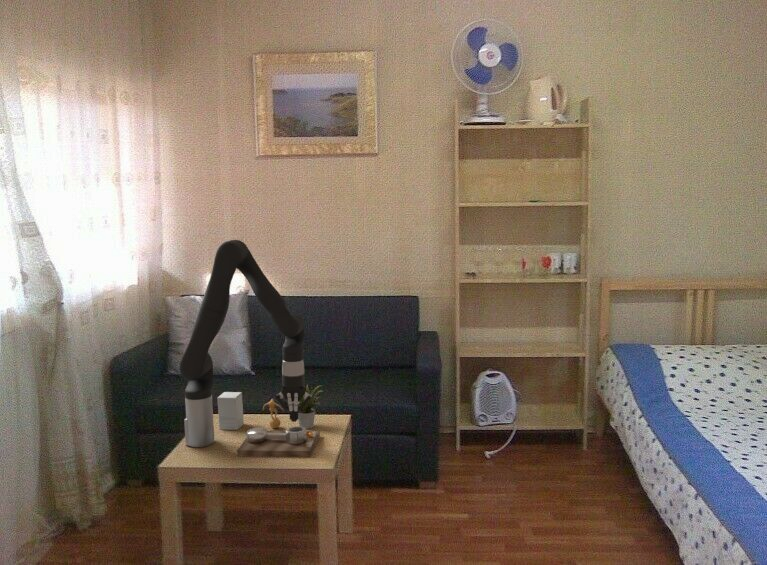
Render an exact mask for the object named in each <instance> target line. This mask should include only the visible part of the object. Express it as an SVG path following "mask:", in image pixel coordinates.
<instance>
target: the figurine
mask: <svg viewBox="0 0 767 565" xmlns="http://www.w3.org/2000/svg"><path fill="white" fill-rule="evenodd" d="M274 400H275V399H274V398H271V400H270V401H268V402H267V403H264V404H263V407H262V411H264V410H265V406H269V409H268V410H269V411H270V417H271V419H270V421H269V426H270V427H271V429H277V428H279V427H280V426H281V420H280V419H279V418H278V417H277V416H278V415H277V414H278V410H277V408H275V407H276V406H277V407H279V408H280V409H281V410H282V411H283V412H285V409H284V408H283V407H282V405H281V404H278V403H277V402H275V401H274ZM273 412H274V414H273ZM273 415H274V416H273Z"/></svg>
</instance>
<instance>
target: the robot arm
mask: <svg viewBox="0 0 767 565" xmlns="http://www.w3.org/2000/svg"><path fill="white" fill-rule="evenodd" d="M213 259H214V260H213V265H212V270H211V273H210V278H209V280H208V283H207V285H206V289H205V292H204V295H203V298H202V300H201V303H200V305H199V309H198V311H197V315H196V319H195V322H194V324H193V329H192V331H191V332H192V333H191V334H190V335H191V336H190V339H189V341H188V344H187V346H186V349H185V351H184V353H183V355H182V357H181V360H180V363H179V373H180V375H181V377H183V378H184V380H186V381H187V384H186V387H185V389H184V400H185V418H184V436H185V439H184V440H185V446H189V447H192V448H205V447H207V446H210V445H213V444H214V443H215V425H214V411H213V408H214V406H213V393H212V392H213V388H214V362H213V358H212V356H211V355H210V354H209V350H210V347H211V345H212V343H213V341H214V340H215V338H216V337H217V335H218V334H219V332H220V330H221V328H222V327H223V325H224V323H225V320H226V318H227V314H228V310H229V307H230V299H231V298H230V296H231V295H230V290H231V284H232V280H233V278H234V275H235V273H236V270H238V271H239V272H240V273H241V274H242V275H243V276H244V277H245V279H246V281H247V282H248V283H249V286H250V288H251V289H252V292H253V294H254V295H255V298H256V299H257V301H258V302H259V303H260V305H261V306H262V307H263V308H264V309H265V311H266V312H267V313H268V314H269V316H270V318H271V320H272V321H273V323H274V326H275V327H276V328H277V330H278V331H279V333H280V334H282V335H283V336H284V337H285V338H284V339H285V340H284V343H283V345H282V348H281V349H282V353H281V354H282V364H281V373H282V374H281V376H282V377H281V378H282V379H281V383H282V386H281V387H282V388H281V390H280V392H279V393H276V395H275V396H274V397H275V399H276V400H277V402H278V403H279V405H280V406H281V407H282V408H283V410H284V411H285V410H287V411H289V420H290V421H291V423H292V422H293V423H294V422H295V423H296V422H297V421H298V418H299V410H302V409H303V408H304V406H305V405H306V404H307V403H308V401H309V400H310V399H312V398H313V396H312V395H311V394H308V393H307V392H306V385H305V363H304V348H303V346H304V340H305V332H306V331H305V330H306V326H305V325H306V324H305V320H304V318H303V316H302V315H301V314H299V313H291V312H290V310H289V309H288V307H287V306H288V304H287V301H286V300H285V299H284V297H283V296H282V295H281V294H280V293H279V291H278V290H277V289H276V287H275V286H273V284H272V283H271V281H270V280H269V279H268V278H267V276H266V275H265V273H264V272H263V270H262V269H261V267H260V266H259V264H258V263H257V261H256V260H255V258H254V256H253V254H252V252H251V251H250V249H249V247H248V245H246V244H245V243H244V242H243V241H241V239H240V240H239V239H231V240H227V241H223V242H221V244H219V246H217V248H216V251H215V255H214V258H213ZM303 396H304V399H305V400H304V402H303V403H302V404H301V405H299V404H300V403H299V401H300V400H301V398H302V397H303ZM311 397H312V398H311Z"/></svg>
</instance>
